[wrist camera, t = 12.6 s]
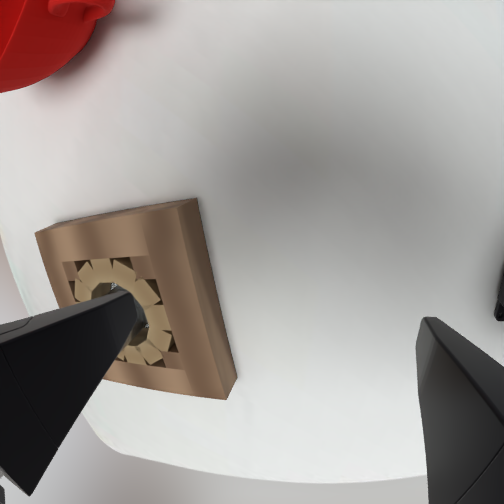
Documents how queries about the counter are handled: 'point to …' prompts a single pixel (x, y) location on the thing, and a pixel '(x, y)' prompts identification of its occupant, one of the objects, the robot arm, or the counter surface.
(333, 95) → the counter surface
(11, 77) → the ceramic cup
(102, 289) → the bearing housing
